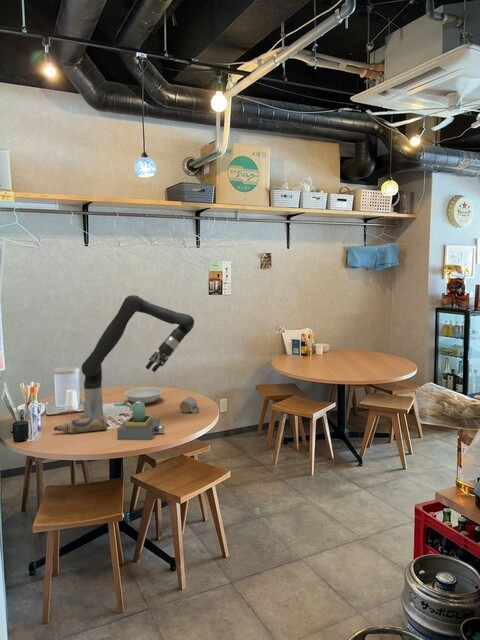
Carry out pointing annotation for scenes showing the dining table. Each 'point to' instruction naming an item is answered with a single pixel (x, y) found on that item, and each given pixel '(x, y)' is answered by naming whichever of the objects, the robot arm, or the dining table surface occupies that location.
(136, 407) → the oil can
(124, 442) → the dining table surface
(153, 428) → the grey metal block
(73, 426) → the decorative bottle
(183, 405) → the ceramic mug
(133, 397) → the soup bowl
